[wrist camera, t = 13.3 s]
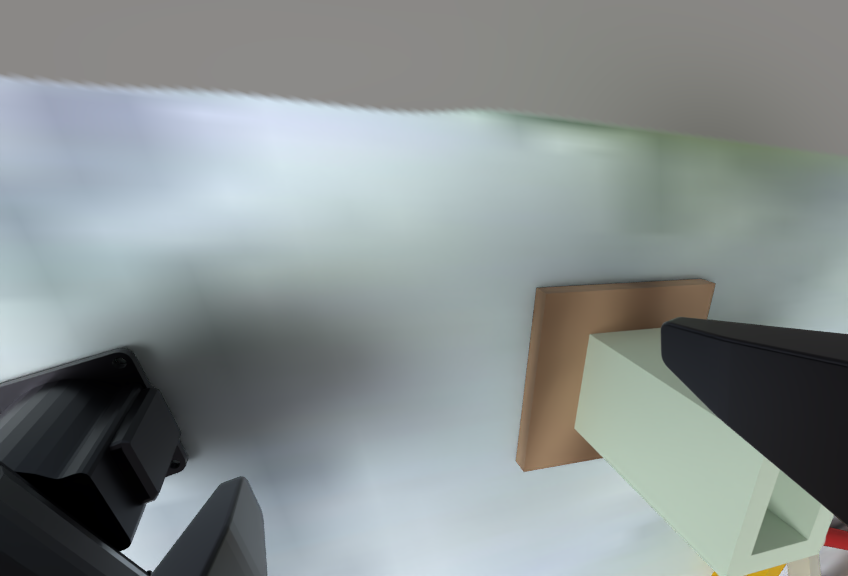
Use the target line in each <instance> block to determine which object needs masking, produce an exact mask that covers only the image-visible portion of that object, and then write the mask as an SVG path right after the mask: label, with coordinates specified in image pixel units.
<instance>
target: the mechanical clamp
mask: <svg viewBox="0 0 848 576" xmlns="http://www.w3.org/2000/svg"><path fill="white" fill-rule="evenodd" d="M823 545H824V546H829V547H834V548H839V549H844V550H848V531H844V530H839V529H835V528H831V527H829V529H828V532H827V534H826V537H825V539H824V542H823V544H822V546H823ZM786 564H787V566H788V576H821V570H820V561H819V554H817V555H814V556H810V557H807V558H803V559H800V560H796V561H793V562H789V563H786ZM786 564H782V565H779V566H776V567H772V568H769V569H765V570H762V571H758V572H755V573H751V574H748V575H744V576H779V574H780V573H781V571H782V570H783V568H784V567H785V565H786ZM712 576H719V575H718V574H717V573H716V572H715V571H714V573H713V574H712Z"/></svg>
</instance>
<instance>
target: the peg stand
mask: <svg viewBox="0 0 848 576" xmlns="http://www.w3.org/2000/svg"><path fill="white" fill-rule="evenodd" d="M714 288H715V283H712V282H709V281H706V280H703V279H688V280H670V281H651V282H633V283H615V284H597V285H579V286H560V287H542V288H536V296H535V304H534V312H533V321H532V329H531V338H530V346H529V354H528V363H527V371H526V379H525V388H524V396H523V405H522V413H521V421H520V430H519V438H518V446H517V455H516V462H517V463H518V465H519V466H520V467H521V469H522V470H523V472H526V471H532V470H537V469H543V468H549V467H554V466H560V465H566V464H571V463H577V462H582V461H588V460H594V459H599V458H603V457H602V456H601V455H600V454H599V453H598V452H597V451H596V450H595V449H594V448H593V447H592V446H591V445H590V444H589V443H588V442H587V441H586V440H585V439H584V438H583V437H582V436H581V435H580V434H579V433H578V432H577V431H576V430H575V429H574V427H575V421H576V415H577V408H578V402H579V396H580V390H581V384H582V378H583V372H584V365H585V359H586V353H587V347H588V341H589V335H590V334H596V333H608V332H619V331H630V330H642V329H653V328H661V326H662V324H663V323H664V322H666V321H669V320H672V319H675V318H677V317H688V318H697V319H707V317H708V313H709V309H710V305H711V301H712V296H713V292H714Z"/></svg>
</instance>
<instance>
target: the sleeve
mask: <svg viewBox="0 0 848 576" xmlns="http://www.w3.org/2000/svg"><path fill="white" fill-rule="evenodd" d="M574 429H575V430H576V431H577V432H578V433H579V434H580V435H581V436H582V437H583V438H584V439H585V440H586V441H587V442H588V443H589V444H590V445H591V446H592V447H593V448H594V449H595V450H596V451H597V452H598V453H599V454H600V455H601V456H602V457H603V458H604V459H605V460H606V461H607V462H608V463H609V464H610V465H611V466H612V467H613V468H614V469H615V470H616V471H617V472H618V473H619V474H620V475H621V476H622V478H623V479H624V480H625V481H626V482H627V483H628V484H629V485H630V486H631V487H632V488H633V489H634V490H635V491H636V492H637V493H638V494H639V495H640V496H641V497H642V498H643V499H644V500H645V501H646V502H647V503H648V504H649V505H650V506H651V507H652V508H653V509H654V510H655V511H656V512H657V513H658V514H659V515H660V516H661V517H662V518H663V519H664V520H665V521H666V522H667V523H668V524H669V525H670V526H671V527H672V528H673V529H674V531H675V532H676V533H677V534H678V535H679V536H680V537H681V538H682V539H683V540H684V541H685V542H686V543H687V544H688V545H689V546H690V547H691V548H692V549H693V550H694V551H695V552H696V553H697V554H698V555H699V556H700V557H701V558H702V559H703V560H704V561H705V562H706V563H707V564H708V565H709V566H710V567H711V568H712V569H713V570H714V571H715V572H716V573H717V574H718V575H719V576H744V575H748V574H751V573H755V572H758V571H762V570H765V569H769V568H772V567H776V566H779V565H782V564H786V563H789V562H793V561H796V560H800V559H803V558H807V557H810V556H814V555H817V554H819V552H820V549H821V547H822V544H823V542H824V539H825V537H826V534H827V532H828V529H829V526H830V524H831V521H832V519H833V516H834V514H832V513H831V512H830V511H829V510H828V509H826V508H825V507H824V506H823V505H822V504H820V503H819V502H818V501H817V500H816V499H814V498H813V497H812V496H811V495H810V494H808V493H807V492H806V491H805V490H804V489H802V488H801V487H800V486H799V485H798V484H796V483H795V482H794V481H793V480H792V479H790V478H789V477H788V476H787V475H786V474H784V473H783V472H782V471H781V470H780V469H779V468H777V467H776V466H775V465H774V464H773V463H771V462H770V461H769V460H768V459H767V458H765V457H764V456H763V455H762V454H761V453H759V452H758V451H757V450H756V449H755V448H753V447H752V446H751V445H750V444H749V443H747V442H746V441H745V440H744V439H743V438H741V437H740V436H739V435H738V434H737V433H735V432H734V431H733V430H732V429H731V428H730V427H728V426H727V425H726V424H725V423H724V422H723V421H721V420H720V419H719V418H718V417H717V416H716V415H715V414H714V413H713V412H712V411H711V410H710V409H709V408H708V407H707V406H706V405H705V404H704V403H703V402H702V401H701V400H700V399H699V398H698V397H697V396H696V395H695V394H694V393H693V392H692V391H691V390H690V389H689V388H688V387H687V386H686V385H685V384H684V383H683V382H682V381H681V380H680V379H679V378H678V377H677V376H676V375H675V374H674V373H673V372H672V371H671V370H670V369H669V368H668V367H667V366H666V365H665V364H664V362H663V360H662V357H661V328H653V329H642V330H630V331H619V332H608V333H596V334H590V335H589V341H588V347H587V353H586V359H585V365H584V372H583V378H582V384H581V390H580V396H579V402H578V408H577V415H576V421H575V427H574Z"/></svg>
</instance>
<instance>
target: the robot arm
mask: <svg viewBox="0 0 848 576" xmlns="http://www.w3.org/2000/svg"><path fill="white" fill-rule="evenodd" d="M661 357H662V360H663V362H664V364H665V365H666V366H667V367H668V368H669V369H670V370H671V371H672V372H673V373H674V374H675V375H676V376H677V377H678V378H679V379H680V380H681V381H682V382H683V383H684V384H685V385H686V386H687V387H688V388H689V389H690V390H691V391H692V392H693V393H694V394H695V395H696V396H697V397H698V398H699V399H700V400H701V401H702V402H703V403H704V404H705V405H706V406H707V407H708V408H709V409H710V410H711V411H712V412H713V413H714V414H715V415H716V416H717V417H718V418H719V419H720V420H721V421H723V422H724V423H725V424H726V425H727V426H728V427H730V428H731V429H732V430H733V431H734V432H735V433H737V434H738V435H739V436H740V437H741V438H743V439H744V440H745V441H746V442H747V443H749V444H750V445H751V446H752V447H753V448H755V449H756V450H757V451H758V452H759V453H761V454H762V455H763V456H764V457H765V458H767V459H768V460H769V461H770V462H771V463H773V464H774V465H775V466H776V467H777V468H779V469H780V470H781V471H782V472H783V473H784V474H786V475H787V476H788V477H789V478H790V479H792V480H793V481H794V482H795V483H796V484H798V485H799V486H800V487H801V488H802V489H804V490H805V491H806V492H807V493H808V494H810V495H811V496H812V497H813V498H814V499H816V500H817V501H818V502H819V503H820V504H822V505H823V506H824V507H825V508H826V509H828V510H829V511H830V512H831V513H832V514H834V515H835V516H836V517H837V518H838V519H839V520H841V521H842V522H843V523H844V524H845V525H847V526H848V334H841V333H831V332H821V331H812V330H802V329H793V328H783V327H774V326H764V325H755V324H745V323H736V322H726V321H717V320H707V319H697V318H688V317H677V318H675V319H672V320H669V321H666V322H664V323H663V324H662V326H661ZM116 358H123V359H124V360H125V361H126V364H119V363H118V362H117V361H116ZM180 435H181V431H180V429H179V427H178V425H177V423H176V422H175V420H174V418H173V416H172V414H171V412H170V410H169V408H168V406H167V404H166V402H165V400H164V398H163V396H162V395H161V393H160V391H159V390H158V389H156V388H154V387H151V385H150V383H149V381H148V379H147V377H146V375H145V373H144V371H143V369H142V368H141V366H140V364H139V362H138V360H137V358H136V356H135V355H134V353H133V352H132V351H130V350H128V349H124V348H120V349H115V350H112V351H108V352H105V353H102V354H98V355H95V356H91V357H88V358H85V359H81V360H78V361H75V362H71V363H68V364H65V365H61V366H58V367H55V368H51V369H48V370H45V371H41V372H38V373H35V374H31V375H28V376H25V377H21V378H18V379H15V380H11V381H8V382H5V383H1V384H0V576H267V562H266V548H265V533H264V520H263V514H262V511H261V508H260V505H259V503H258V501H257V499H256V497H255V495H254V493H253V491H252V489H251V486H250V484H249V482H248V480H247V479H246V478H245V477H243V476H240V477H237V478H234V479H232V480H229V481H226V482H224V483H222V484H220V485H219V486H218V488H217V489H216V490H215V491H214V493H213V494H212V495H211V497H210V498H209V499H208V501H207V502H206V503H205V505H204V506H203V507H202V509H201V510H200V511H199V512H198V514H197V515H196V516H195V518H194V519H193V520H192V522H191V523H190V524H189V526H188V527H187V528H186V530H185V531H184V532H183V533H182V535H181V536H180V537H179V539H178V540H177V541H176V543H175V544H174V545H173V547H172V548H171V549H170V551H169V552H168V553H167V554H166V556H165V557H164V558H163V560H162V561H161V562H160V564H159V565H158V566H157V568H156V569H155V570H154V572H152V571H150V570H149V571H147V572H146V571H145V570H143V569H142V568H141V567H139V566H138V565H137V564H135V563H134V562H133V561H131V560H130V559H129V558H128V557H126V556H125V555H124V554H122V553H121V552H120V551H122V550H125V549H126V548H128V547H129V546H130V544H131V542H132V540H133V537H134V535H135V532H136V530H137V527H138V524H139V522H140V519H141V517H142V514H143V512H144V509H145V506H146V504H147V503H149V502H152V501H154V500H155V499H156V498H157V496H158V494H159V493H160V490H161V487H162V485H163V482H164V479H165V477H167V476H170V475H173V474H176V473H178V472H180V471H182V470H183V469H184V468H185V466H186V463H187V460H188V456H187V453H186V452H185V450H184V448H183V446H182V444H181V442H180V440H179V438H180ZM174 459H175V460H178V461H179V463H172V462H171V460H174Z"/></svg>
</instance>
